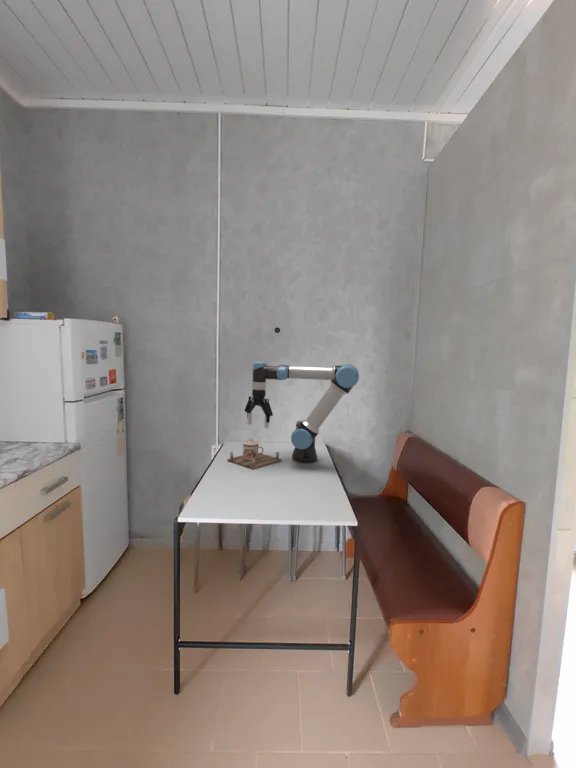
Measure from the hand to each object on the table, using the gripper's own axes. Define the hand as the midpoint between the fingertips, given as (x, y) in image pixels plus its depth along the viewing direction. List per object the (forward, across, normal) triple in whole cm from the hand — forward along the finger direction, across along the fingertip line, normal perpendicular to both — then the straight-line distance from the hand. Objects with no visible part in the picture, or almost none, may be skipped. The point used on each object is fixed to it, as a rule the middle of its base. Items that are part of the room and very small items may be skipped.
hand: (257, 426), depth 222 cm
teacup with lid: (+20, +3, 0) cm, 20 cm away
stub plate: (+21, +2, 0) cm, 21 cm away
